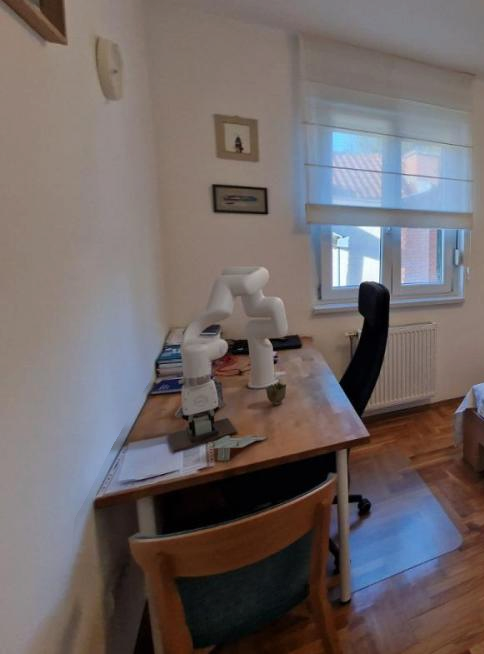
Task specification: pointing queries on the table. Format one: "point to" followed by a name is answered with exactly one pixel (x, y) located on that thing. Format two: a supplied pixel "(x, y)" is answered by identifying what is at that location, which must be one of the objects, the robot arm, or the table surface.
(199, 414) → the small box
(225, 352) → the robot arm
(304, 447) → the table surface
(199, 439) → the mounting board
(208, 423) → the gray rectangular block
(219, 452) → the metal bracket
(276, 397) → the cup
